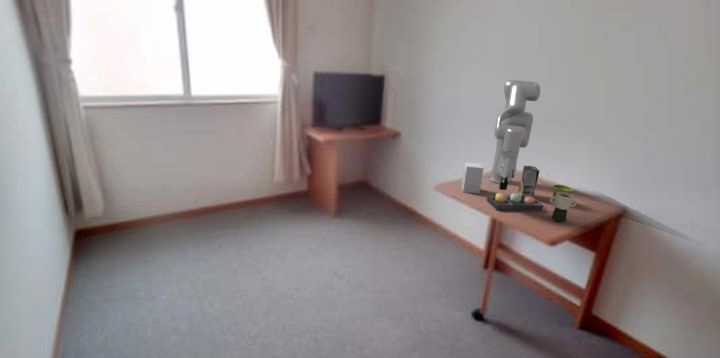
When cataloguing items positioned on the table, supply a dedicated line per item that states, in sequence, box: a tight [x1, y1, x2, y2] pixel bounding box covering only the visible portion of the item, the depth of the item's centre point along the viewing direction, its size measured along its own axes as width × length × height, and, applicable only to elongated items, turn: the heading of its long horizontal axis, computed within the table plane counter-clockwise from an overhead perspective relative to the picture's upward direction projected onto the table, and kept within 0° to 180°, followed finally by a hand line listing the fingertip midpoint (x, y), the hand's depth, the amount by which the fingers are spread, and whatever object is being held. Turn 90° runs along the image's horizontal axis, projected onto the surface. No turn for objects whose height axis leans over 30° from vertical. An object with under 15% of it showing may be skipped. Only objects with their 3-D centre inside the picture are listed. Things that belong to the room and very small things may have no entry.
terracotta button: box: [524, 196, 537, 203], centre depth 191 cm, size 5×5×4 cm
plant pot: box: [552, 184, 573, 201], centre depth 197 cm, size 9×9×9 cm
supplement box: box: [461, 161, 484, 195], centre depth 206 cm, size 9×9×15 cm
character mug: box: [549, 192, 578, 223], centre depth 175 cm, size 11×7×13 cm, turn 71°
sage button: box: [510, 192, 522, 203], centre depth 189 cm, size 5×5×4 cm
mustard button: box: [495, 192, 508, 203], centre depth 188 cm, size 5×5×4 cm
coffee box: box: [517, 165, 540, 197], centre depth 203 cm, size 9×6×16 cm
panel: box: [486, 195, 544, 212], centre depth 190 cm, size 12×24×3 cm, turn 96°
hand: (502, 189), depth 186 cm, fingers closed
